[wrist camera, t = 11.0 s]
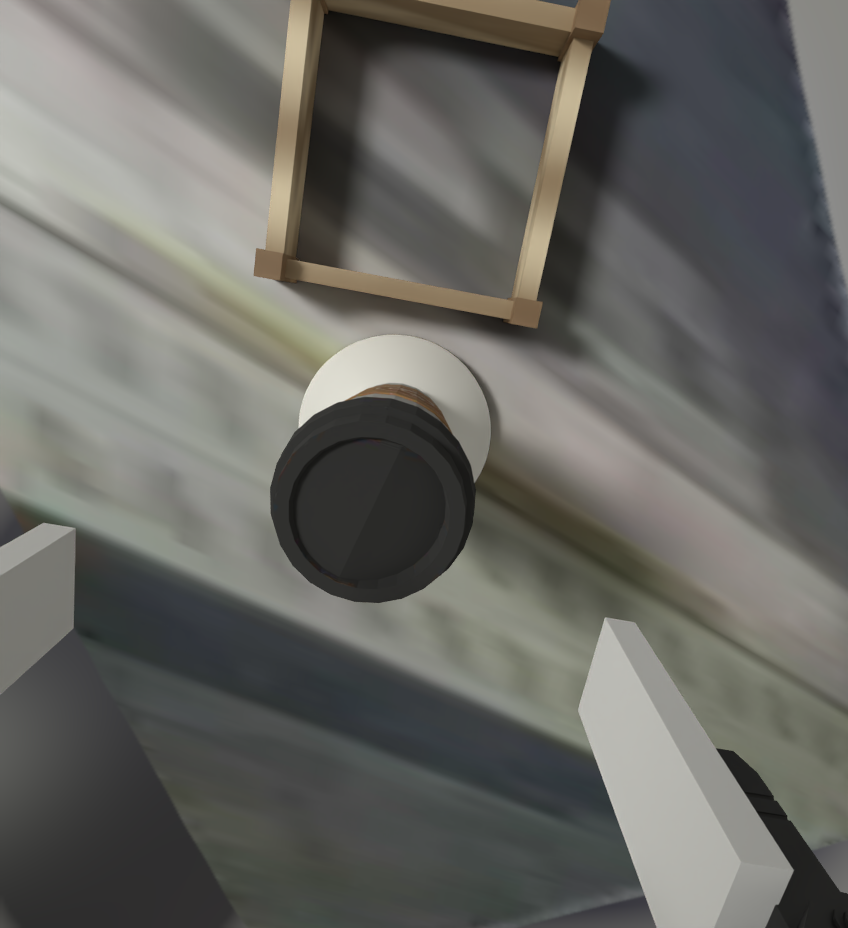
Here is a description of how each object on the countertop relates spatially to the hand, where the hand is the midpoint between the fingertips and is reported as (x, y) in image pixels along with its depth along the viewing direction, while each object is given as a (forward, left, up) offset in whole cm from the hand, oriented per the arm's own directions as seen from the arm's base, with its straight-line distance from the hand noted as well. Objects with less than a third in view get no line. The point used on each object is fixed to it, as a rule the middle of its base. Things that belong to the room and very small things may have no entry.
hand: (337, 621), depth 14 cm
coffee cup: (0, 0, -23) cm, 23 cm away
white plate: (0, 0, -24) cm, 24 cm away
